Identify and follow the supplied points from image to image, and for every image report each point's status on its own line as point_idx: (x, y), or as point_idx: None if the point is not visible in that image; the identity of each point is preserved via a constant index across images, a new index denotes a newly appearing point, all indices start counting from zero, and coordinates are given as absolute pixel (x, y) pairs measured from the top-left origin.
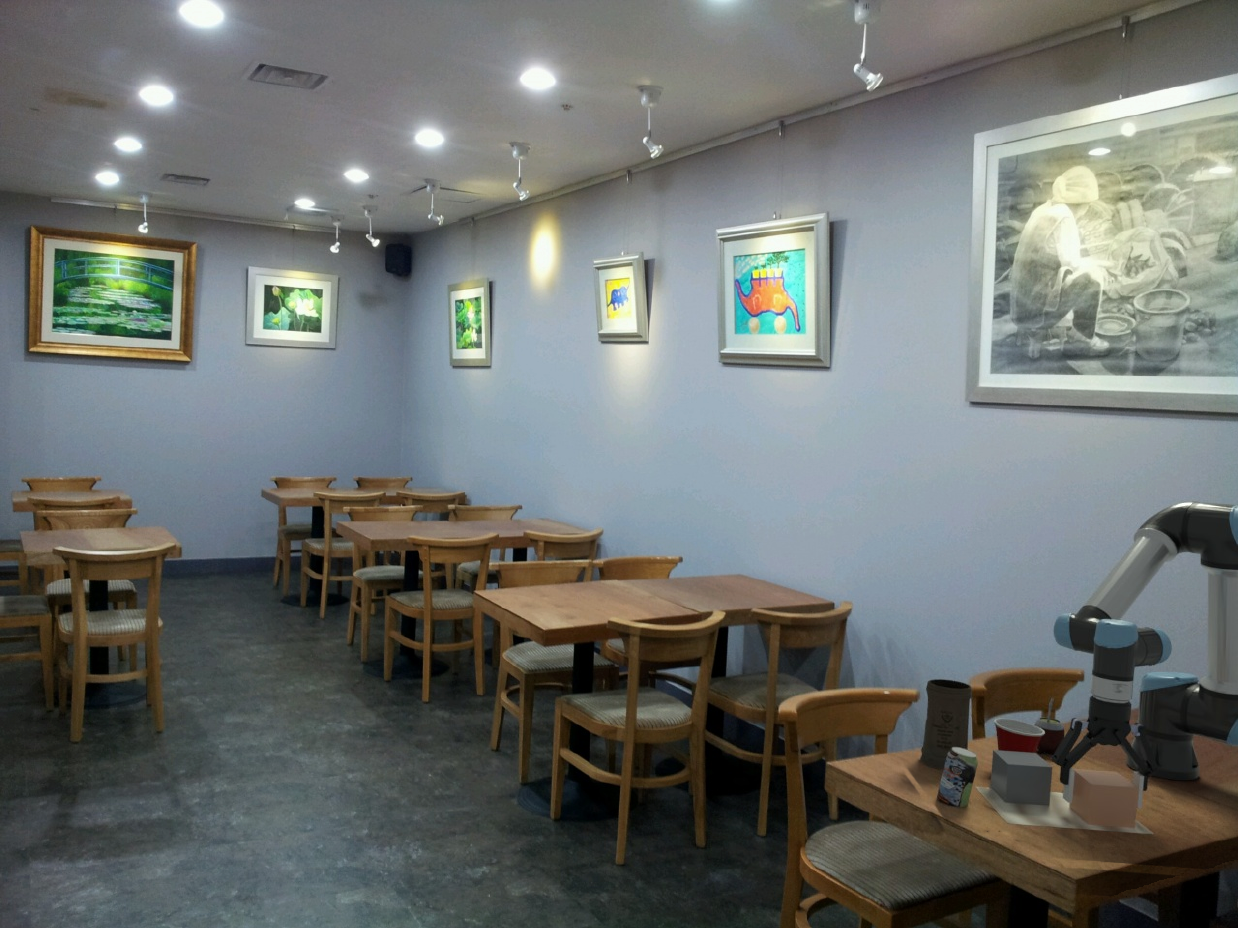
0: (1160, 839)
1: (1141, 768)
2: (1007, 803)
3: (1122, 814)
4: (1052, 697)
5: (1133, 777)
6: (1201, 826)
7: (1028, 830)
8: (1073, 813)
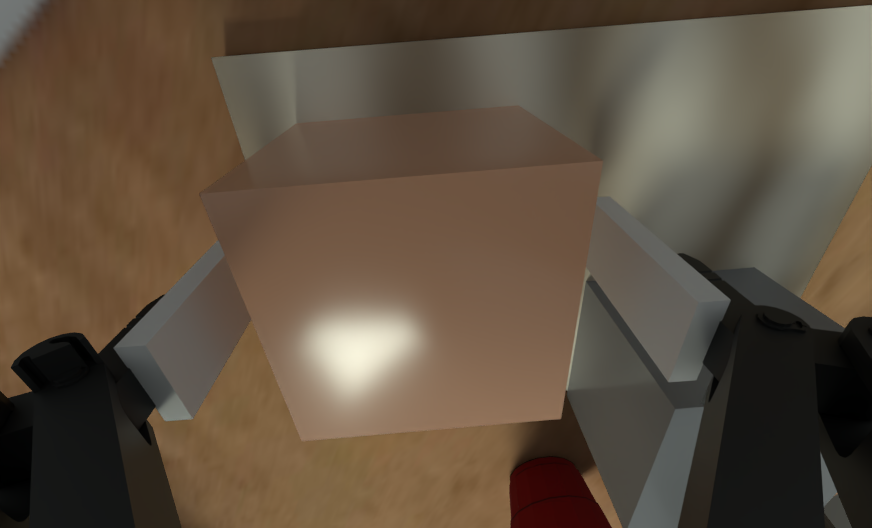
0: (191, 76)
1: (96, 402)
2: (751, 259)
3: (351, 129)
4: None
5: (212, 380)
6: (20, 279)
7: None
8: None
